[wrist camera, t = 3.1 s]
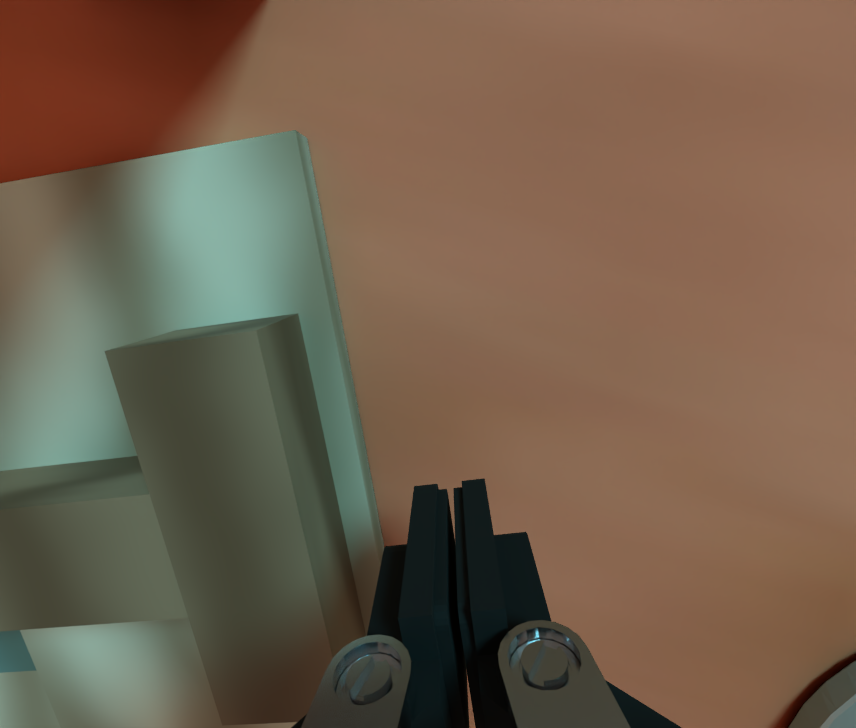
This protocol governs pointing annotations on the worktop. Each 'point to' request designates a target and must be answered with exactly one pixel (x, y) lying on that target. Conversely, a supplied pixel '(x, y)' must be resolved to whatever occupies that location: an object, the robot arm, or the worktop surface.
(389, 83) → the worktop surface
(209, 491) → the t block
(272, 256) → the board
